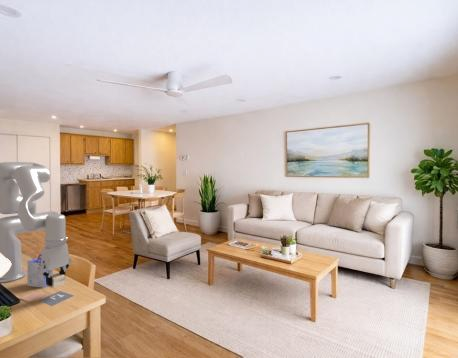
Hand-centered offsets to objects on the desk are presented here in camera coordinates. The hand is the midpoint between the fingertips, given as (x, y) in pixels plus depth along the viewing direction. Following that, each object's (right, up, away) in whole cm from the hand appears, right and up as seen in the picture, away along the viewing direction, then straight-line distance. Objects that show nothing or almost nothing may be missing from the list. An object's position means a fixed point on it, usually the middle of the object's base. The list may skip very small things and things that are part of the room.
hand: (55, 282), depth 122 cm
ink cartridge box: (-15, -6, +12) cm, 20 cm away
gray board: (+1, -7, -1) cm, 7 cm away
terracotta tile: (-10, -6, -1) cm, 12 cm away
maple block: (0, -1, 0) cm, 1 cm away
